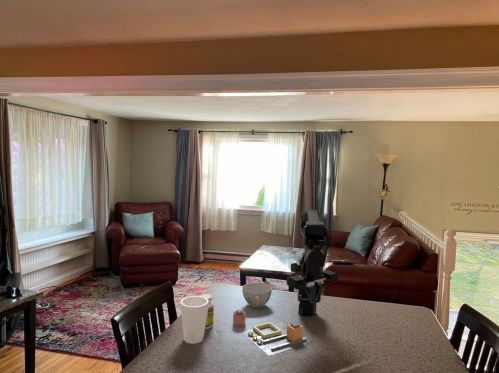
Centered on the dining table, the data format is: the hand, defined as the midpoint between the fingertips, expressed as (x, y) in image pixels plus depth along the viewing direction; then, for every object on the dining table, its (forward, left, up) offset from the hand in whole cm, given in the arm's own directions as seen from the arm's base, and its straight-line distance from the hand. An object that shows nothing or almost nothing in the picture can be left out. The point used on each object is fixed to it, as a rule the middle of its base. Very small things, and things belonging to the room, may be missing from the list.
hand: (311, 303), depth 122 cm
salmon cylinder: (+19, -18, -12) cm, 28 cm away
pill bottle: (+30, -24, -12) cm, 40 cm away
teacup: (+4, -30, -12) cm, 32 cm away
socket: (+13, -8, -12) cm, 19 cm away
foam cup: (+37, -17, -12) cm, 42 cm away
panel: (+12, -4, -12) cm, 17 cm away
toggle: (+7, 0, -11) cm, 13 cm away
